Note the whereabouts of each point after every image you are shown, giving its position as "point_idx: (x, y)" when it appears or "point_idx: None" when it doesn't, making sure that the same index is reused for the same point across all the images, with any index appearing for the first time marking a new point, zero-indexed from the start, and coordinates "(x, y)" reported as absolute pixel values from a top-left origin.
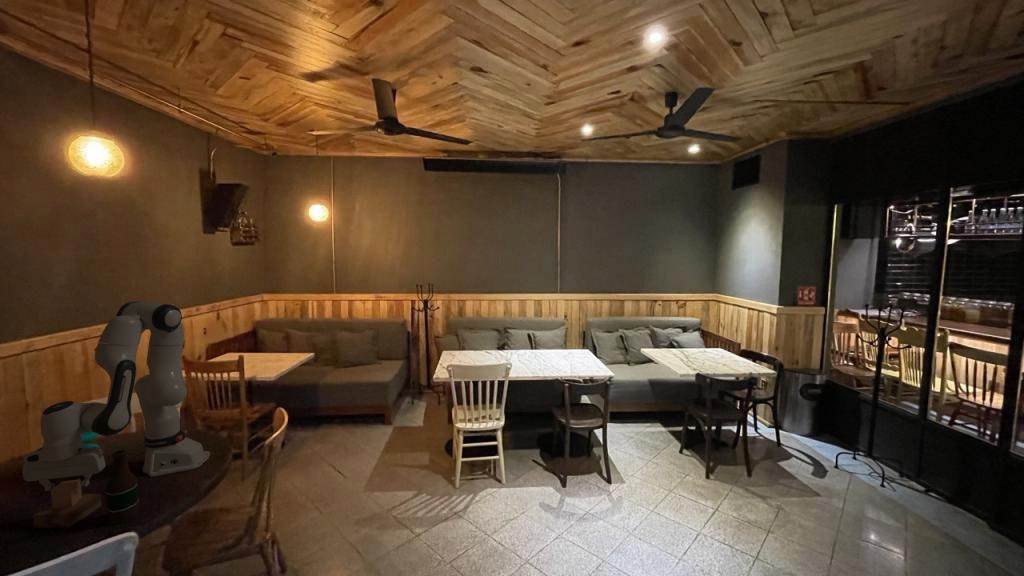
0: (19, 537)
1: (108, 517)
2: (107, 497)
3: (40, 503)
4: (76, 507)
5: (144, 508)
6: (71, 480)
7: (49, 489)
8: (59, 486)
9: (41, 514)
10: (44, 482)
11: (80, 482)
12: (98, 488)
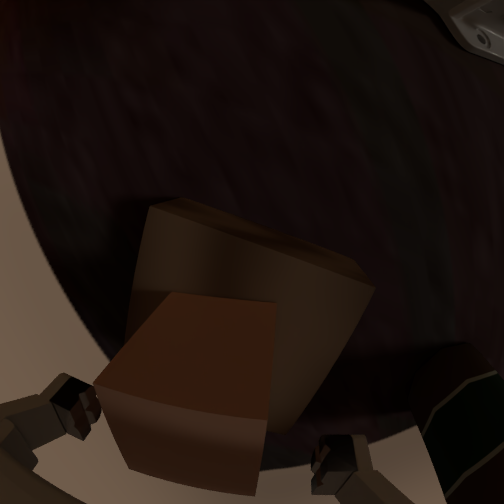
0: None
1: (412, 413)
2: (441, 482)
3: (60, 131)
4: (294, 397)
5: (490, 340)
6: (176, 406)
7: (91, 420)
8: (148, 456)
9: None
10: (30, 440)
11: (313, 493)
12: (247, 41)
